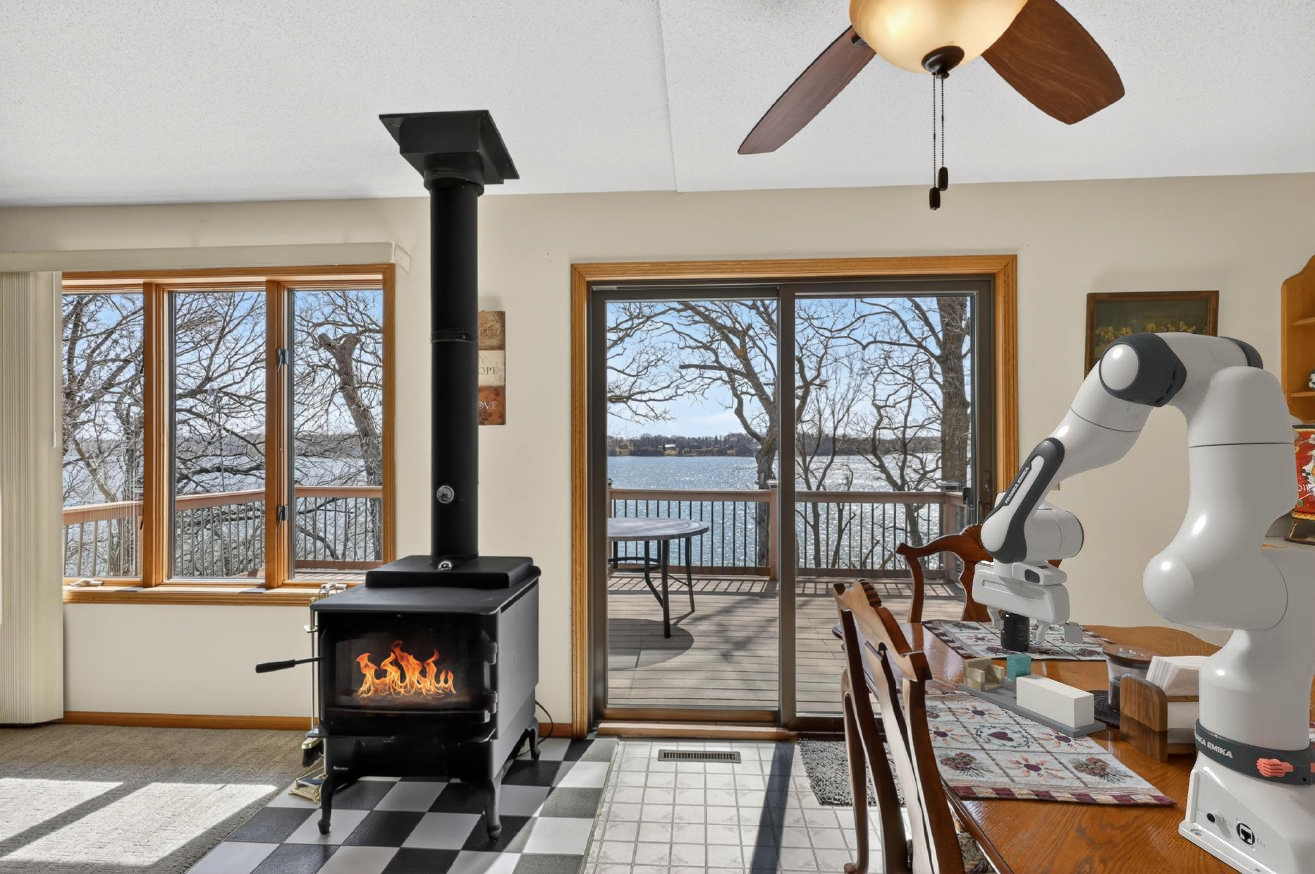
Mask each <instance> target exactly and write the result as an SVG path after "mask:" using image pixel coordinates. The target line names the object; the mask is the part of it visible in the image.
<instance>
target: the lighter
mask: <svg viewBox="0 0 1315 874" xmlns="http://www.w3.org/2000/svg"><path fill="white" fill-rule="evenodd" d="M1057 625H1058V628H1061V627H1063V641H1064V643H1065V642H1066V643H1073V644H1081V643H1082V644H1083V643H1084V642H1083V641H1084V640H1083V626H1082V625H1080V624H1079V623H1078V622H1076V621H1068V624H1066V623H1063V624H1057Z"/></svg>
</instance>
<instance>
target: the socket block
mask: <svg viewBox="0 0 1315 874" xmlns="http://www.w3.org/2000/svg"><path fill="white" fill-rule="evenodd" d="M992 661H993V660H992V657H990V656H981V657H975V658H968V659H963V660H962V662H963V663H962V664H963V665H962V667H963V668H962V669H963V670H962V672H963V673H962V675H963V677H962V678H963V682H962V683H963V684H964V685H967V686H969V687H971V688H974V689H976V690H979V691H985V690H990V689H995V688H1001V687H1003V680H1004V678H1005V674H1006V673H1005V667H1002V666H999V665H997V664H994V663H992Z"/></svg>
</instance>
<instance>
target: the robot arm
mask: <svg viewBox="0 0 1315 874" xmlns="http://www.w3.org/2000/svg"><path fill="white" fill-rule="evenodd" d="M1263 362H1264V361H1263V358H1262V356H1261V355H1260V353H1259V351H1258V350H1257V349H1256V348H1255V347H1254V346H1252V345H1251V344H1250V343H1248V342H1245V341H1243V340H1241V339H1238V338H1233V337H1230V336H1222V335H1221V336H1220V335H1219V336H1211V335H1204V334H1193V333H1192V332H1183V331H1182V332H1178V331H1175V332H1174V331H1172V332H1155V333H1153V332H1147V331H1145V332H1143V331H1142V332H1135V333H1131V334H1127V335H1124V336H1120V337H1118V338H1116V339H1114V340H1113V341H1111V342H1110V343H1109V344H1108V345H1107V346H1106V348H1105V349H1104V351H1103V352H1102V354H1101V357H1100V359H1099V360H1098V361H1097V363H1096V364H1095V365H1094V366H1093V367H1092V369H1091V370H1090V371H1089V373H1088V374H1087V376H1086V378H1085V379H1084V380H1083V382H1082V383H1081V385H1080V386H1079V388H1078V391H1077V393H1076V394H1075V396H1074V399H1073V401H1072V402H1071V405H1070V407H1069V409H1068V411H1067V413H1066V414H1065V415H1064V417H1063V419H1062V420H1061V421H1060V422H1059V424H1058V426H1056V428H1054V430H1053V431H1052V432H1051V433H1050V434H1049V435H1048V436H1047V437H1046V438H1044V439H1043V440H1041V442H1039V443H1038V444H1037V445H1036V446H1035V447H1034V448H1033V450H1032V451H1031V452H1030V454H1029V455H1028V456H1027V458H1026V459H1025V461H1024V463H1023V464H1022V466H1021V467H1020V469H1019V471H1018V472H1017V474H1016V475H1015V477H1014V479H1013V480H1012V482H1011V483H1010V484H1009V487H1008V489H1006V490H1004V491H1001V492H999V493H998V494H997V496H996V498H995V503H994V508H993V509H992V510H991V511H990V512H989V513H988V514H987V515H986V517H985V519H983V522H982V524H981V527H980V531H979V538H980V543H981V545H982V547H983V548H984V550H985V551H986V553H987V554H988V555H990V556H991V557H992V558H993V561H988V560H980V561H978V562H976V564H975V565H974V575H973V581H972V590H971V596H972V599H973V601H974V602H975V603H977V604H980V605H985V606H986V611H987V613H988V615H989V618H990V620H991V627H992V628H993V629H997V630H1000V629H1003V628H1004V625H1003V624H1004V620H1001V619H1000V614H999V611H1000V610H1001V611H1008V612H1012V613H1015V614H1019V615H1022V616H1026V617H1029V618H1030V619H1032V620H1033V619H1034V620H1036V626H1038V628H1037V629H1036V631H1031V640H1032V641H1034V642H1036V643H1045V640H1046V633H1047V631H1048V630H1049V629H1050V627H1051V626H1052V625H1058V624H1066V623H1068V622H1069V620H1070V616H1071V614H1070V613H1071V611H1070V606H1071V605H1070V596H1069V591H1068V588H1067V587H1066V586H1065V585H1064V584H1065V583H1066V582H1067V581H1068V575H1067V573H1066V572H1065V571H1063V570H1062V569H1060V568H1058V567H1056V566H1054V565H1052V564H1051V563H1049V562H1047V561H1049V560H1050V561H1053V560H1054V561H1055V560H1057V561H1058V560H1066V559H1072V558H1075V557H1076V556H1077V555H1078V554H1079V553H1080V552H1081V551H1082V548H1083V546H1084V544H1085V531H1084V526H1083V524H1082V522H1081V521H1080V519H1078V517H1077V516H1076V515H1074V514H1073V513H1072V512H1070V511H1068V510H1063V509H1061V508H1059V507H1057V506H1054V505H1053V504H1051V503H1050V502H1049V501H1047V500H1045V499H1046V498H1047V496H1048V495H1049V493H1050V492H1051V490H1052V489H1053V488H1054V487H1055V486H1057V484H1060V483H1061V482H1062V481H1064V480H1066V479H1068V478H1070V477H1073V476H1075V475H1078V474H1082V473H1084V472H1087V471H1091V470H1094V469H1099V468H1103V467H1106V466H1108V465H1112V464H1114V463H1117V462H1118V461H1120V460H1121V459H1123V458H1124V456H1126V455H1127V454H1128V453H1129V451H1130V450H1131V449H1132V448H1133V447H1134V445H1135V444H1136V442H1137V440H1138V439H1139V437H1140V435H1141V433H1142V430H1143V428H1144V427H1145V425H1146V423H1147V421H1148V419H1149V416H1150V414H1151V412H1152V411H1153V409H1154V408H1162V407H1164V406H1170V407H1171V406H1172V407H1175V408H1176V409H1178V410H1179V411H1180V412H1181V413H1182V414H1183V416H1184V418H1185V421H1186V422H1185V423H1186V426H1187V427H1186V428H1187V430H1186V431H1187V447H1188V449H1187V450H1188V451H1187V453H1188V469H1189V471H1188V472H1189V495H1188V496H1189V497H1188V498H1189V499H1188V505H1187V509H1186V510H1187V511H1186V514H1185V517H1184V519H1183V521H1182V524H1181V526H1180V528H1179V530H1178V532H1177V533H1176V535H1175V537H1173V540H1172V541H1170V543H1169V544H1168V545H1167V546H1165V548H1164V549H1163V550H1161V551H1160V552H1158V553H1157V554H1156V555H1154V556H1153V557H1152V558H1151V559H1150V560H1149V562H1148V563H1147V565H1146V567H1145V570H1144V572H1143V576H1142V589H1143V592H1144V596H1145V599H1146V600H1147V602H1148V604H1149V606H1150V607H1151V609H1152V610H1153V611H1154V613H1156V614H1157V615H1158V616H1159V617H1160V618H1161V619H1163V620H1165V621H1167V622H1169V623H1171V624H1176V625H1179V626H1180V625H1181V626H1185V627H1190V628H1194V629H1195V628H1196V629H1201V630H1206V631H1233V632H1232V634H1231V636H1230V638H1229V640H1228V641H1227V642H1226V644H1224V646H1223V647H1222V648H1221V649H1219V650H1218V651H1217V652H1214V653H1213V654H1210V655H1209V656H1208V657H1207V658H1205V660H1203V662H1202V663H1201V665H1200V667H1199V671H1198V700H1199V701H1198V704H1199V705H1198V706H1199V708H1198V710H1199V714H1198V715H1199V717H1198V718H1197V719H1196V720H1195V728H1194V737H1195V738H1194V740H1195V743H1194V744H1195V747H1196V749H1197V750H1198V754H1197V757H1196V761H1195V763H1194V766H1193V768H1192V770H1191V771H1190V777H1189V785H1188V793H1187V803H1186V809H1185V810H1186V812H1185V818H1184V819H1183V820H1182V821H1180V822H1179V825H1178V833H1179V835H1181V836H1182V837H1184V838H1185V839H1187V840H1188V841H1191V842H1192V843H1193V844H1195V845H1197V846H1198V847H1199V848H1202V850H1205V851H1206V852H1208V853H1209V854H1211V855H1212V856H1214V857H1215V858H1217V859H1219V860H1221V861H1222V862H1223V863H1225V864H1226V865H1228V866H1230V867H1232V868H1233V869H1235V870H1236V871H1238V872H1239V873H1240V874H1315V746H1314V744H1313V743H1312V742H1311V740H1310V713H1311V712H1310V707H1311V706H1310V705H1311V691H1312V686H1313V680H1314V678H1315V551H1314V550H1310V549H1304V548H1297V547H1263V544H1264V540H1265V538H1266V534H1267V533H1268V531H1269V528H1271V526H1272V524H1273V523H1274V522H1275V521H1276V520H1277V519H1279V518H1281V517H1283V516H1285V515H1286V514H1288V513H1289V512H1291V511H1292V510H1293V509H1294V508H1295V507H1296V505H1297V503H1298V501H1299V497H1300V494H1299V481H1298V473H1297V471H1298V470H1297V469H1298V468H1297V460H1296V459H1297V458H1296V448H1295V446H1296V445H1295V437H1294V436H1295V435H1294V430H1293V424H1292V417H1291V413H1290V410H1289V406H1288V403H1287V399H1286V396H1285V394H1284V391H1283V387H1282V386H1281V383H1280V381H1279V379H1278V378H1277V376H1275V375H1274V374H1273V373H1272V372H1270V371H1267V370H1266V369H1264V363H1263Z"/></svg>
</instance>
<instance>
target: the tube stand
mask: <svg viewBox="0 0 1315 874" xmlns="http://www.w3.org/2000/svg"><path fill="white" fill-rule="evenodd" d="M1016 680H1017V694H1014V693H1012V692H1009V691H1007V690H1005V689H1004V687H1001V688H995V689H990V690H985V691H979V690H976V689H974V688H971V687H969V686H967V685H964V684H963V682H961V683H958V684H957V687H958V688H957V689H958V690H960V691H963V692H965V693H968V694H970V695H972V696H975V697H977V698H980V699H982V700H984V701H986V702H988V703H991V704H992V705H996V706H998V707H1000V708H1003V709H1005V710H1006V711H1009V712H1012V713H1015V714H1017V715H1019V716H1021V717H1024V718H1026V719H1029V720H1030V721H1033V722H1035V723H1038V724H1040V725H1043V726H1045V727H1047V728H1050V729H1052V730H1055V731H1057V732H1059V733H1061V734H1064V735H1066V736H1069V737H1071V738H1077V737H1081V736H1085V735H1088V734H1092V733H1093V734H1094V733H1097V732H1101V731H1105V730H1107V724H1106V723H1105V722H1102V721H1099V720H1096V719H1095V694H1094V693H1091V692H1088V691H1084V690H1082V689H1079V688H1078V687H1077V688H1076V687H1073V686H1072V685H1068V684H1065V683H1062V682H1059V681H1057V680H1054V679H1051V678H1048V677H1045V676H1043V675H1039V674H1037V673H1033V674H1032V673H1031V675H1027V676H1022V677H1016Z"/></svg>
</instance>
